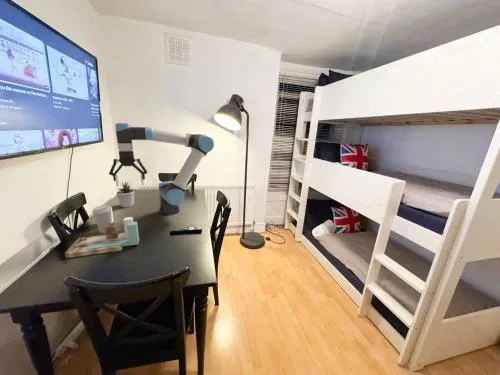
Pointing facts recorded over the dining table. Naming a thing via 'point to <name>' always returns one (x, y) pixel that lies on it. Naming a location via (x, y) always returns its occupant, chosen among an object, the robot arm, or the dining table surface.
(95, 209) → the coffee cup
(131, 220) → the strip grey
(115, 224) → the block
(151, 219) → the dining table surface
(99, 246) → the strip teal
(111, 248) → the board
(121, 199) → the potted plant
